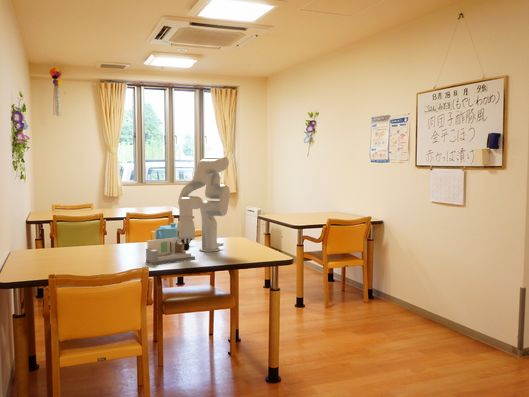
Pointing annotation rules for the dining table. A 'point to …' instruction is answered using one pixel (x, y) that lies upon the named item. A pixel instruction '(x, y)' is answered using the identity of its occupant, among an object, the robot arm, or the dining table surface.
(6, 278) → the dining table surface
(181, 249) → the gauge slider
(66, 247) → the dining table surface
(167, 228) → the container
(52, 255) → the dining table surface
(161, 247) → the gauge base
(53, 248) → the dining table surface
